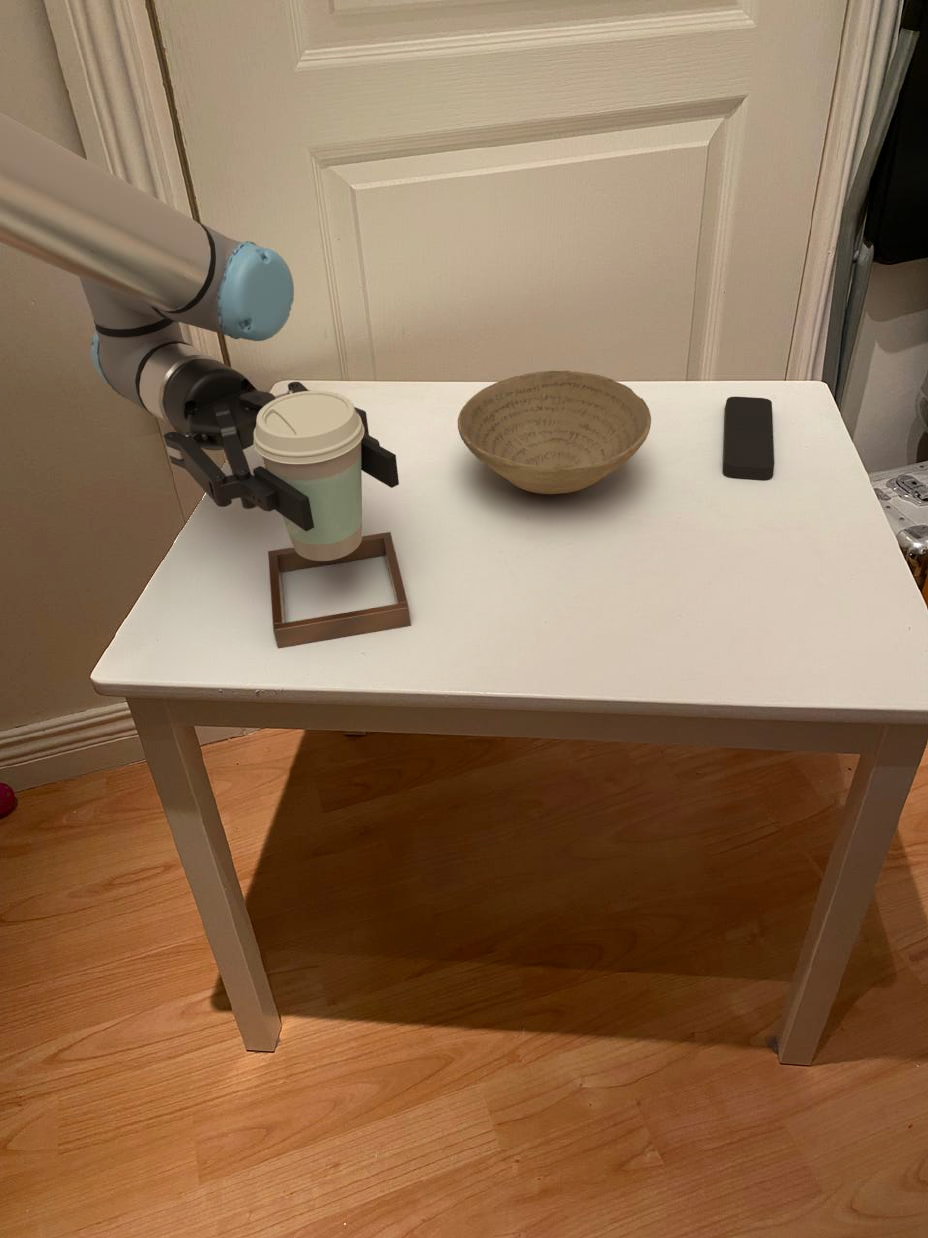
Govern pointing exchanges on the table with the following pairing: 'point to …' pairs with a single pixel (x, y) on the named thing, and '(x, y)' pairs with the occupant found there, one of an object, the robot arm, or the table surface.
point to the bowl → (554, 429)
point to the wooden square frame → (344, 621)
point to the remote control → (748, 438)
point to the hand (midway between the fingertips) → (351, 492)
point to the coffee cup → (317, 466)
